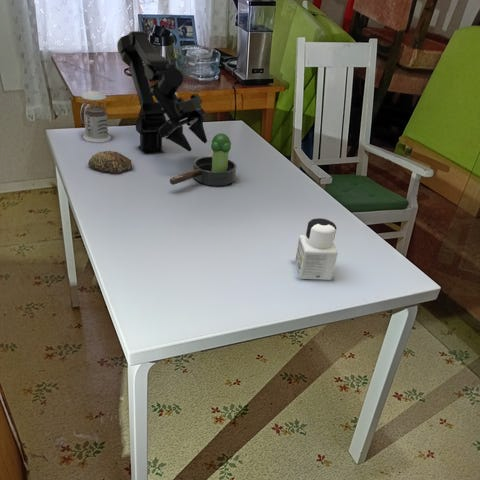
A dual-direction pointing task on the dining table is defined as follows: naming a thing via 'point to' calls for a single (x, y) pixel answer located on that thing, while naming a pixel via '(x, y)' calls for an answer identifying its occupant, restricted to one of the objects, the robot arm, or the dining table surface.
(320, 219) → the container
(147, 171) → the dining table surface
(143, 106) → the robot arm
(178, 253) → the dining table surface
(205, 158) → the pan
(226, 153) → the broccoli
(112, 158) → the bread roll
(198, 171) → the pan handle
